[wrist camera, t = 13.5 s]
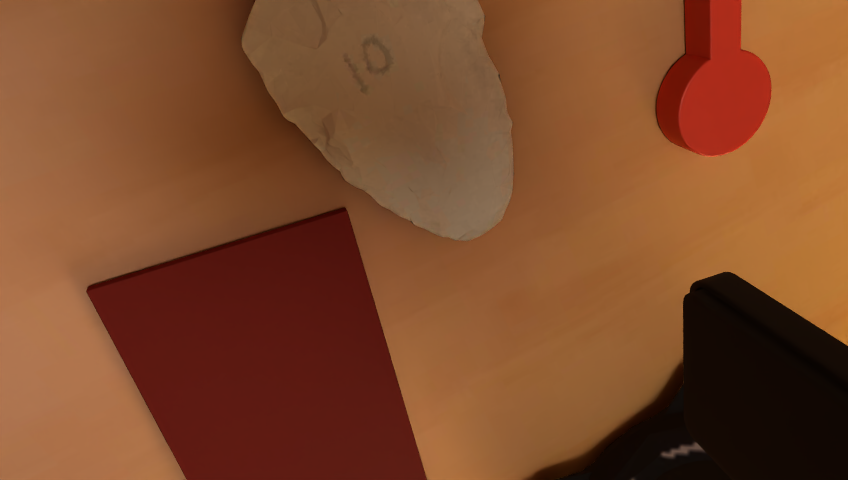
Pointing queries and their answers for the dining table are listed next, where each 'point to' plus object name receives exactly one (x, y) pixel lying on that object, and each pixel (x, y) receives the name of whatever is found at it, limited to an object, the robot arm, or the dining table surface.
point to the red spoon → (713, 83)
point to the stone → (394, 102)
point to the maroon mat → (266, 358)
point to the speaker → (655, 452)
